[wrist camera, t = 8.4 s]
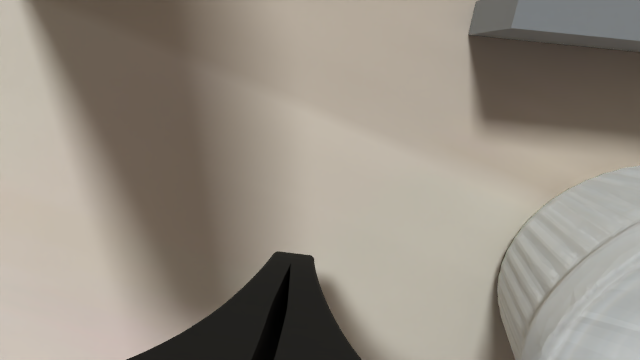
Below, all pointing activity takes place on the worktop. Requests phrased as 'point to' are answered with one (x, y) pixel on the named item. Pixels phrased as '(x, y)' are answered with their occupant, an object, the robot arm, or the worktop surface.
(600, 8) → the grey tray
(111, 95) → the worktop surface
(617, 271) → the ramekin
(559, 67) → the worktop surface
